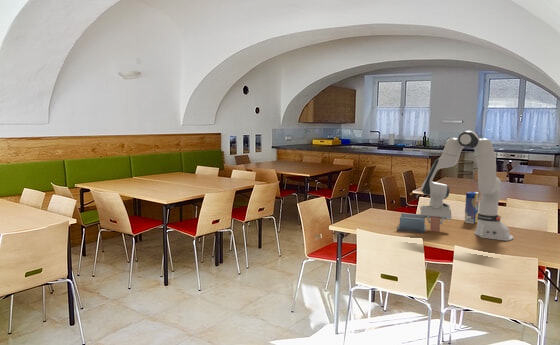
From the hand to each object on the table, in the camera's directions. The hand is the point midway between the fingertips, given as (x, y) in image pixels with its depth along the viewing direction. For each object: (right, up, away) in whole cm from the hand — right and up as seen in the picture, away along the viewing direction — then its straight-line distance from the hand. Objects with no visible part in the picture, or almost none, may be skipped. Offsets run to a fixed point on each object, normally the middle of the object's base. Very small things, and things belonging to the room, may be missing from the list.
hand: (435, 223), depth 292 cm
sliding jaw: (-11, -2, +13) cm, 17 cm away
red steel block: (0, -5, +1) cm, 5 cm away
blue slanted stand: (-14, -5, +7) cm, 16 cm away
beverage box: (+38, -3, +31) cm, 49 cm away
